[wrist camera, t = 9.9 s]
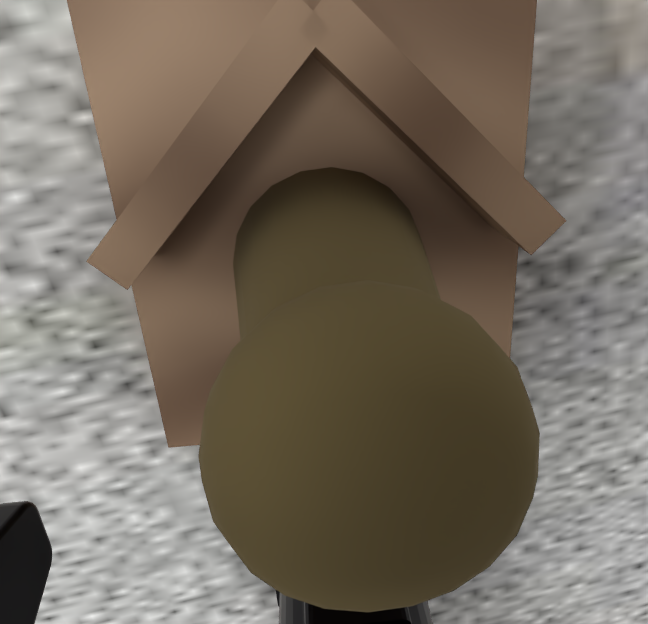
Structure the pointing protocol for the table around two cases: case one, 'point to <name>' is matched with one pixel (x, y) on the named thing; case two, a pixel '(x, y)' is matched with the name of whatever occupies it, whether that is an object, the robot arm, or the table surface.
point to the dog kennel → (302, 149)
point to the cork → (360, 408)
